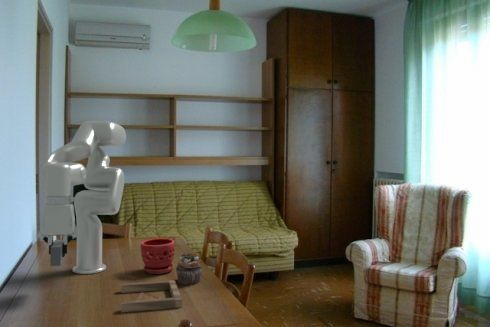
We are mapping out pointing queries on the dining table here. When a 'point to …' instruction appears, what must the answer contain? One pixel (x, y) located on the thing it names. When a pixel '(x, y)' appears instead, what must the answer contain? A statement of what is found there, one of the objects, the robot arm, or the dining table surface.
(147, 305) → the walnut frame
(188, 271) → the cupcake
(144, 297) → the shard
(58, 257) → the block
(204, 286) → the dining table surface
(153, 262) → the plant pot
